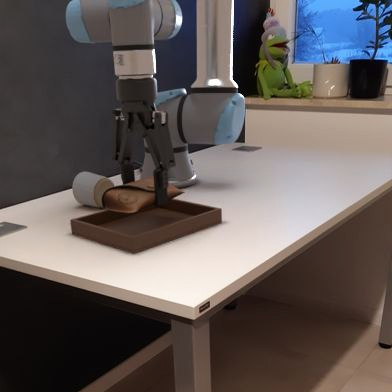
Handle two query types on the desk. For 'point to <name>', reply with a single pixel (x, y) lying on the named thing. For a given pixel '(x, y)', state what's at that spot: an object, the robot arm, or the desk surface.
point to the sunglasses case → (134, 196)
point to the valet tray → (146, 224)
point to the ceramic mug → (90, 188)
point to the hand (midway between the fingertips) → (145, 200)
